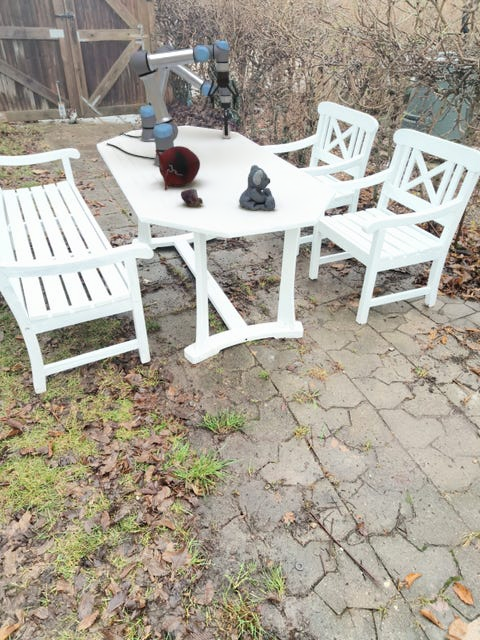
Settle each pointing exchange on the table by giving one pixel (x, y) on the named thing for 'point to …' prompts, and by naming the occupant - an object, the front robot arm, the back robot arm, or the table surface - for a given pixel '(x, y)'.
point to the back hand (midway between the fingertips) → (226, 134)
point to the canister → (228, 132)
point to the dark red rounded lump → (178, 166)
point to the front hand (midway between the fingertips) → (223, 108)
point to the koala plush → (257, 191)
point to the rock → (191, 197)
